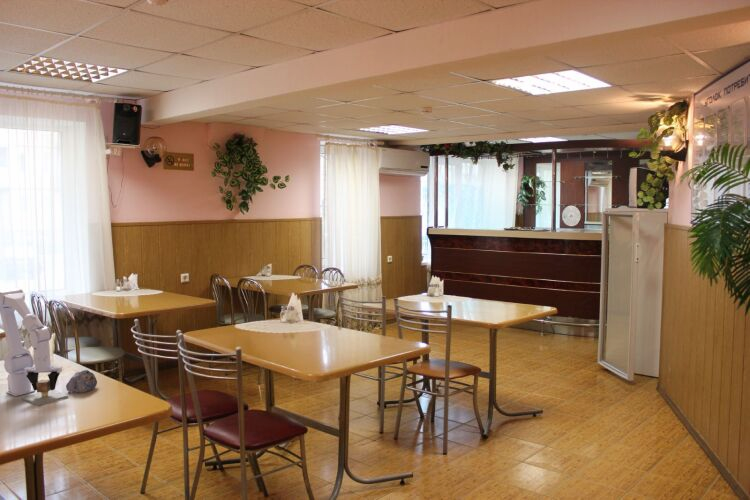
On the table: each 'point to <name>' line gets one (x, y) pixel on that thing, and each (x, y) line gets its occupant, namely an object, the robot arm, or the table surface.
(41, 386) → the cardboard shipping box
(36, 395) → the plate
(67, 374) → the table surface
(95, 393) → the table surface
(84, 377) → the rock
